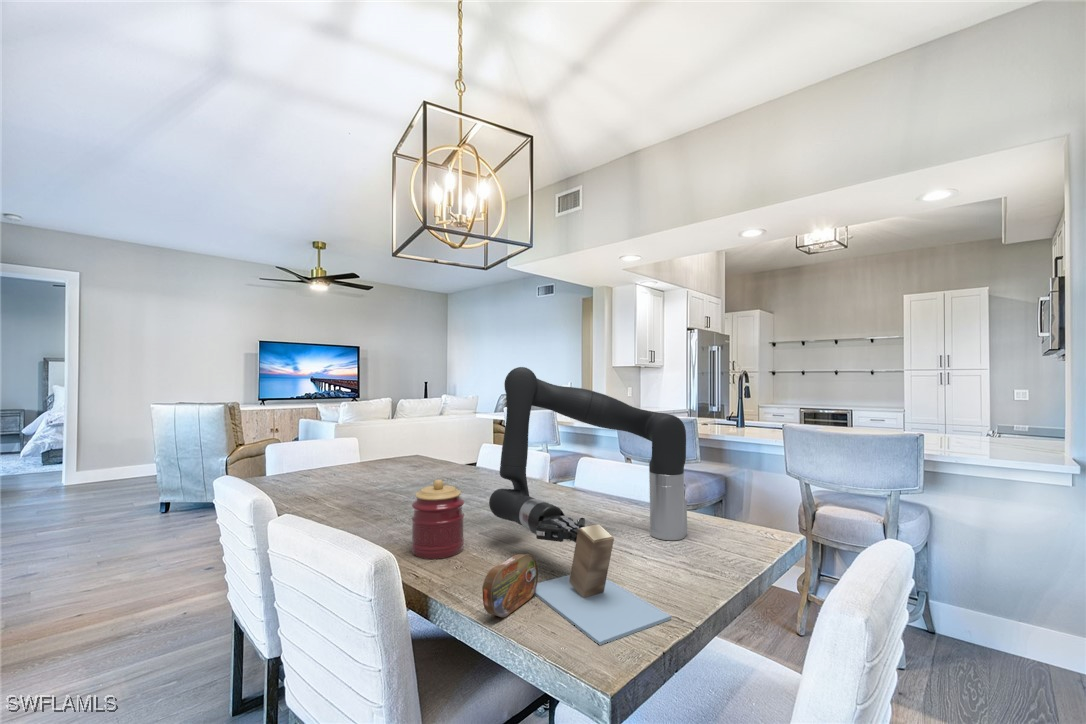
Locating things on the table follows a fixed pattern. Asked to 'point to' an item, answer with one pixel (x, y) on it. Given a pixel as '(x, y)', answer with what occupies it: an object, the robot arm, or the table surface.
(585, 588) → the walnut block
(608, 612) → the mat
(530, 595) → the tin
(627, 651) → the table surface
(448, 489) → the canister
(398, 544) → the table surface
